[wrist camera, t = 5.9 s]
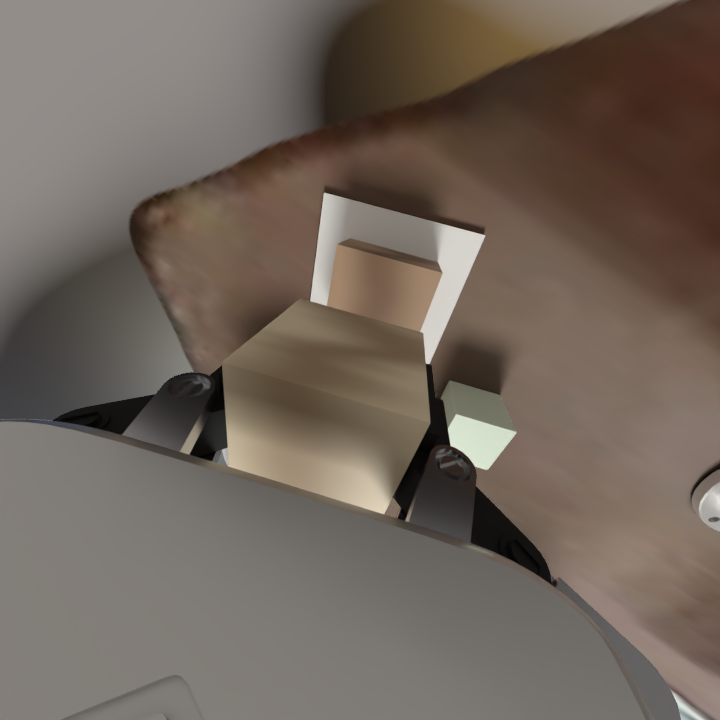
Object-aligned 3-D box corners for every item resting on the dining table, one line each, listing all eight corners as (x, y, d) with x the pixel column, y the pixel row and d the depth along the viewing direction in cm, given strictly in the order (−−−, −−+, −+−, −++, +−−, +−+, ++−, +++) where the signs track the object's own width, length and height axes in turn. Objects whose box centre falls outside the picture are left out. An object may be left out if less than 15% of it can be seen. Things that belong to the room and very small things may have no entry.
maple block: (423, 332, 10) (430, 422, 6) (388, 423, 13) (375, 530, 9) (300, 298, 10) (222, 362, 6) (290, 394, 13) (230, 485, 9)
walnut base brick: (438, 262, 20) (442, 273, 17) (409, 341, 24) (408, 363, 20) (350, 238, 20) (337, 244, 17) (334, 320, 24) (321, 338, 21)
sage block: (499, 394, 25) (516, 432, 21) (476, 430, 28) (487, 470, 24) (449, 379, 26) (456, 414, 21) (430, 416, 28) (433, 453, 24)
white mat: (484, 234, 19) (485, 235, 19) (426, 369, 25) (426, 371, 25) (325, 192, 19) (324, 192, 19) (307, 334, 26) (305, 336, 25)
